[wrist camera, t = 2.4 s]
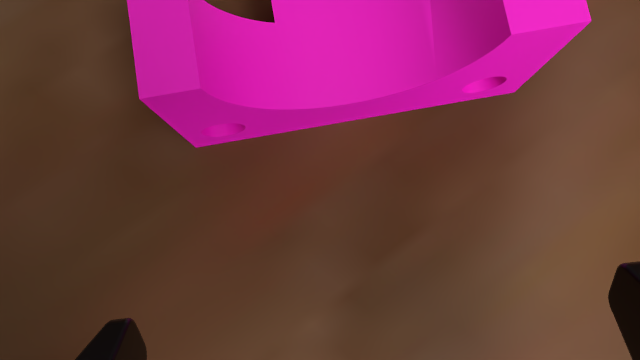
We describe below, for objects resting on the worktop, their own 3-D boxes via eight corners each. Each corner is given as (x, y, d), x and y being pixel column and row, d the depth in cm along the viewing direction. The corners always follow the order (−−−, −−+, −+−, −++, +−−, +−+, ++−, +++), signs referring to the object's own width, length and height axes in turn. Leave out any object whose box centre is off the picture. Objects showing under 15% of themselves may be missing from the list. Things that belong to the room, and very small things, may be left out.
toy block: (483, -28, 26) (546, -147, 18) (512, 93, 25) (591, 20, 17) (179, 24, 25) (117, -74, 18) (196, 148, 24) (139, 99, 17)
